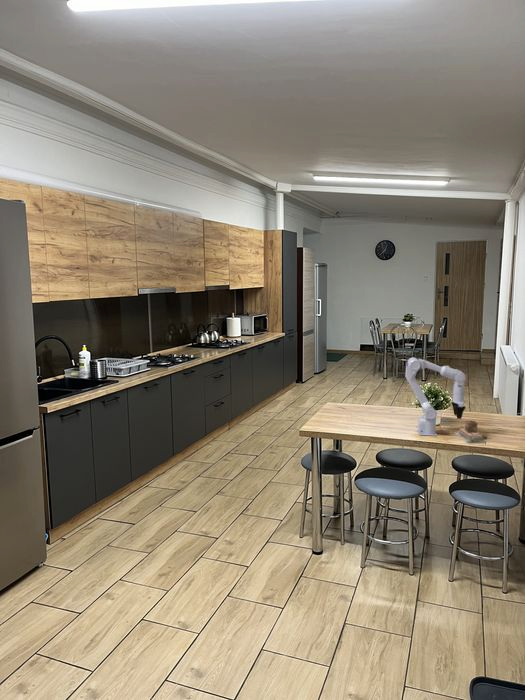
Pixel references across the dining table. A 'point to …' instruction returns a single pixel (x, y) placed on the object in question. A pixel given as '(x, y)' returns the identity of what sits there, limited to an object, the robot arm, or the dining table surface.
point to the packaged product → (470, 436)
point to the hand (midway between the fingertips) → (457, 416)
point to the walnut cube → (471, 426)
